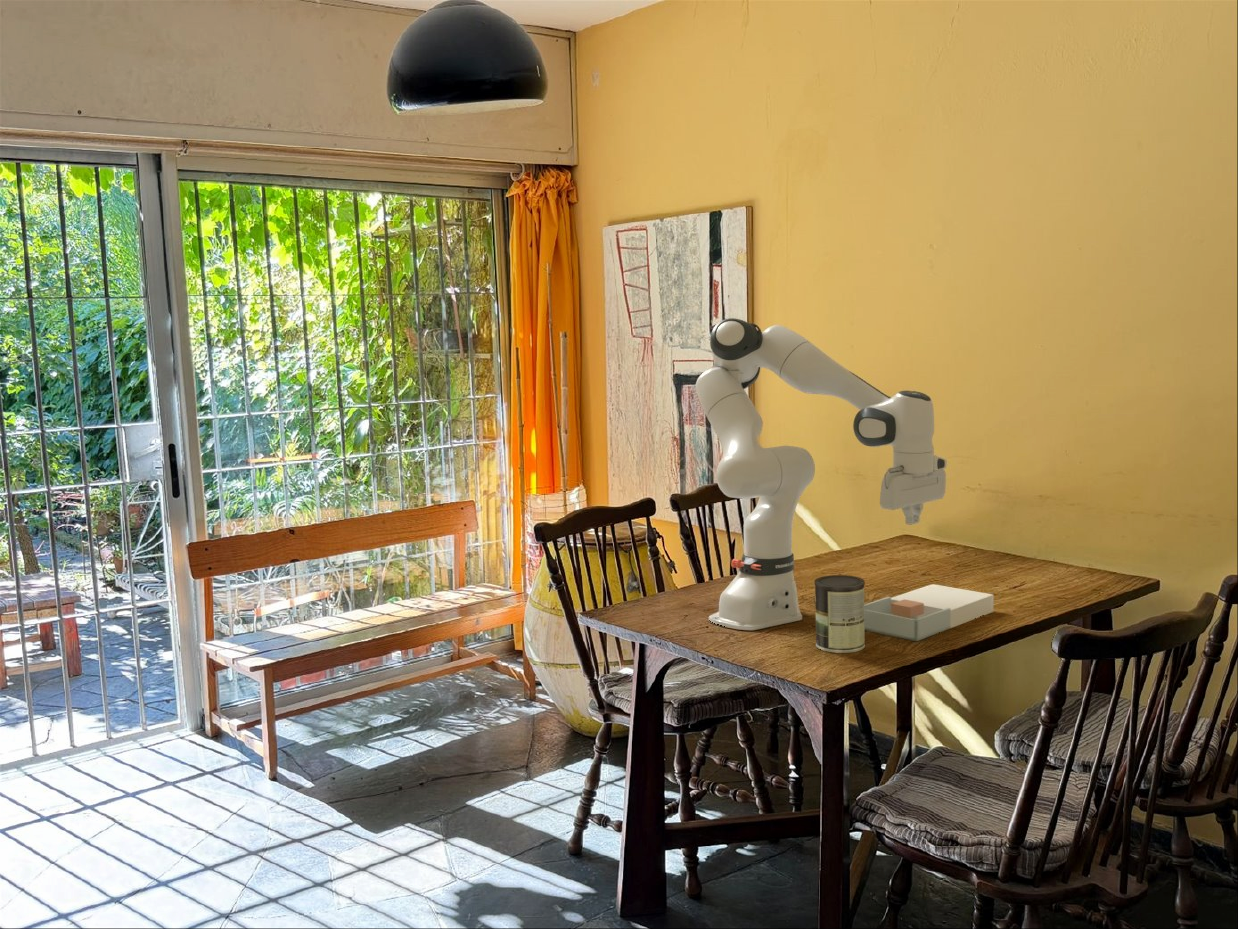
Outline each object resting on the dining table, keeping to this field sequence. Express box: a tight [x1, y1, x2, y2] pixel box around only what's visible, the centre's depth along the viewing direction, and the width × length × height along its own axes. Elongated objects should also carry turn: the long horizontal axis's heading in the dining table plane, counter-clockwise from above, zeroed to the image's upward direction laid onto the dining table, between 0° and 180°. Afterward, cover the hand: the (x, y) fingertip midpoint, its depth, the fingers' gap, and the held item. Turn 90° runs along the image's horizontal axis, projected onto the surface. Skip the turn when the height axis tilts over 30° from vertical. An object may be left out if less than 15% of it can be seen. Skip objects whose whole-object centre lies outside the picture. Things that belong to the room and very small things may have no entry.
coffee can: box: [813, 574, 866, 654], centre depth 237 cm, size 10×10×14 cm
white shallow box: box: [891, 583, 995, 629], centre depth 259 cm, size 18×16×4 cm
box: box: [864, 596, 951, 642], centre depth 249 cm, size 13×16×4 cm
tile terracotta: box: [891, 599, 924, 618], centre depth 250 cm, size 5×5×2 cm
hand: (912, 523), depth 257 cm, fingers closed
